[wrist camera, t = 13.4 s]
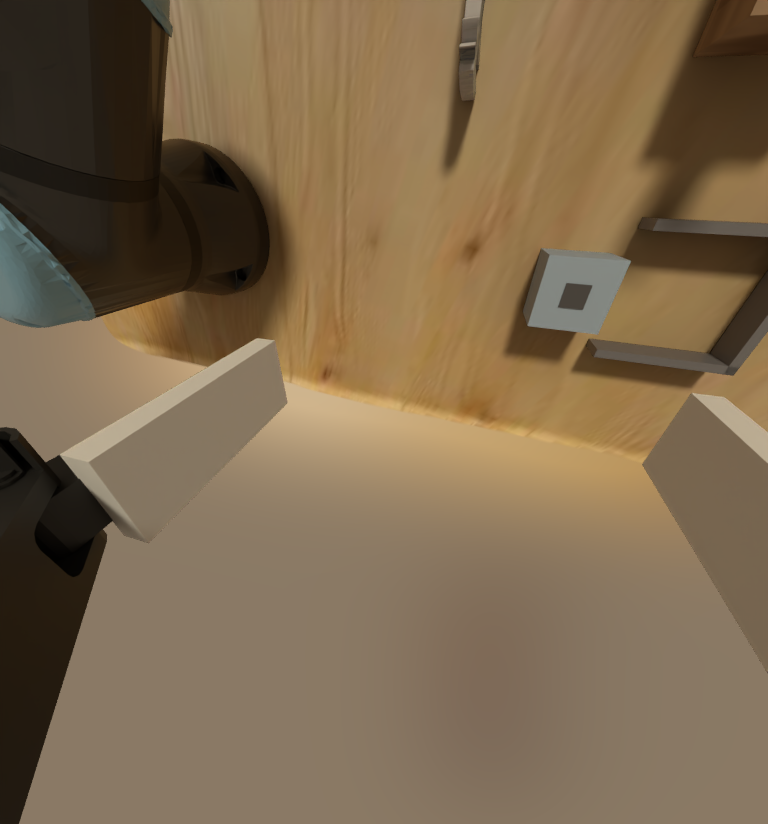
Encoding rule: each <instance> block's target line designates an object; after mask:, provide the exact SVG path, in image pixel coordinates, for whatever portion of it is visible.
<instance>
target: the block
mask: <svg viewBox="0 0 768 824" xmlns="http://www.w3.org/2000/svg"><path fill="white" fill-rule="evenodd" d="M630 263H631V261H630V260H628V259H625V258H622V257H620V256H617V255H615V254H612V253H601V252H587V251H573V250H558V249H544V248H541V251H540V255H539V258H538V262H537V265H536V268H535V272H534V275H533V279H532V282H531V285H530V289H529V292H528V295H527V299H526V302H525V306H524V309H523V314H524V317H525V320H526V323H527V326H531V327H540V328H548V329H556V330H565V331H573V332H581V333H590V334H598V333H599V331H600V329H601V326H602V324H603V322H604V320H605V318H606V315H607V313H608V311H609V309H610V307H611V304H612V302H613V300H614V298H615V296H616V293H617V291H618V289H619V287H620V285H621V283H622V280H623V278H624V276H625V274H626V272H627V269H628V267H629V265H630Z"/></svg>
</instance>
